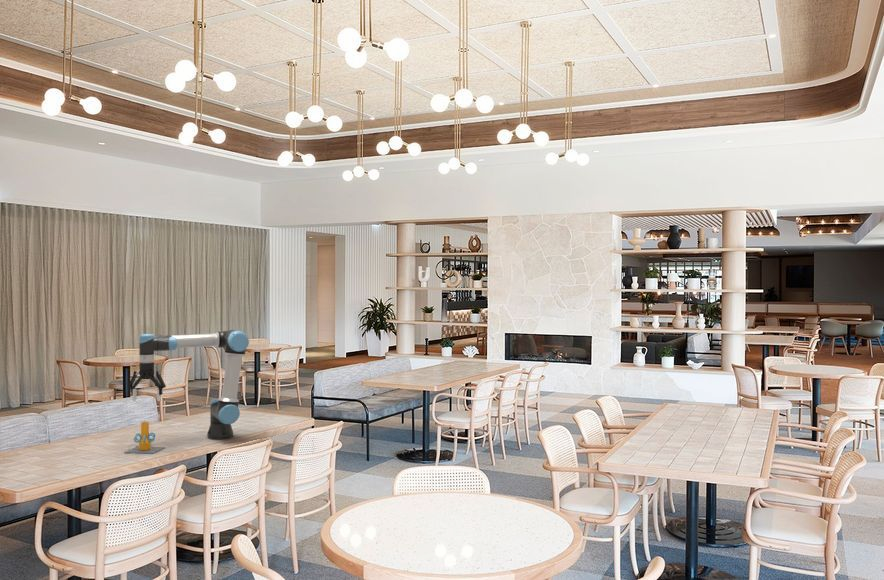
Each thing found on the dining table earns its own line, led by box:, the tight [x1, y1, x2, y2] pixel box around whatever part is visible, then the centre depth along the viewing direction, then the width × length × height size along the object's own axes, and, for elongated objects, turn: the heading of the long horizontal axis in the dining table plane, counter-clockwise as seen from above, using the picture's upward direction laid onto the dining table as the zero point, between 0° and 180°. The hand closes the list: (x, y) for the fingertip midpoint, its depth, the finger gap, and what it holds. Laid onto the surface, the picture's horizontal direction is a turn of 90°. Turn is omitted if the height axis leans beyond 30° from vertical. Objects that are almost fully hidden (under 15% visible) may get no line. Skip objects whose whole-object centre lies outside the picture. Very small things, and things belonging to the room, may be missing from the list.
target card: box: [124, 445, 166, 455], centre depth 385 cm, size 16×14×1 cm
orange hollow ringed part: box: [133, 420, 156, 451], centre depth 385 cm, size 12×10×15 cm
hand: (146, 400), depth 387 cm, fingers open, 13 cm apart
